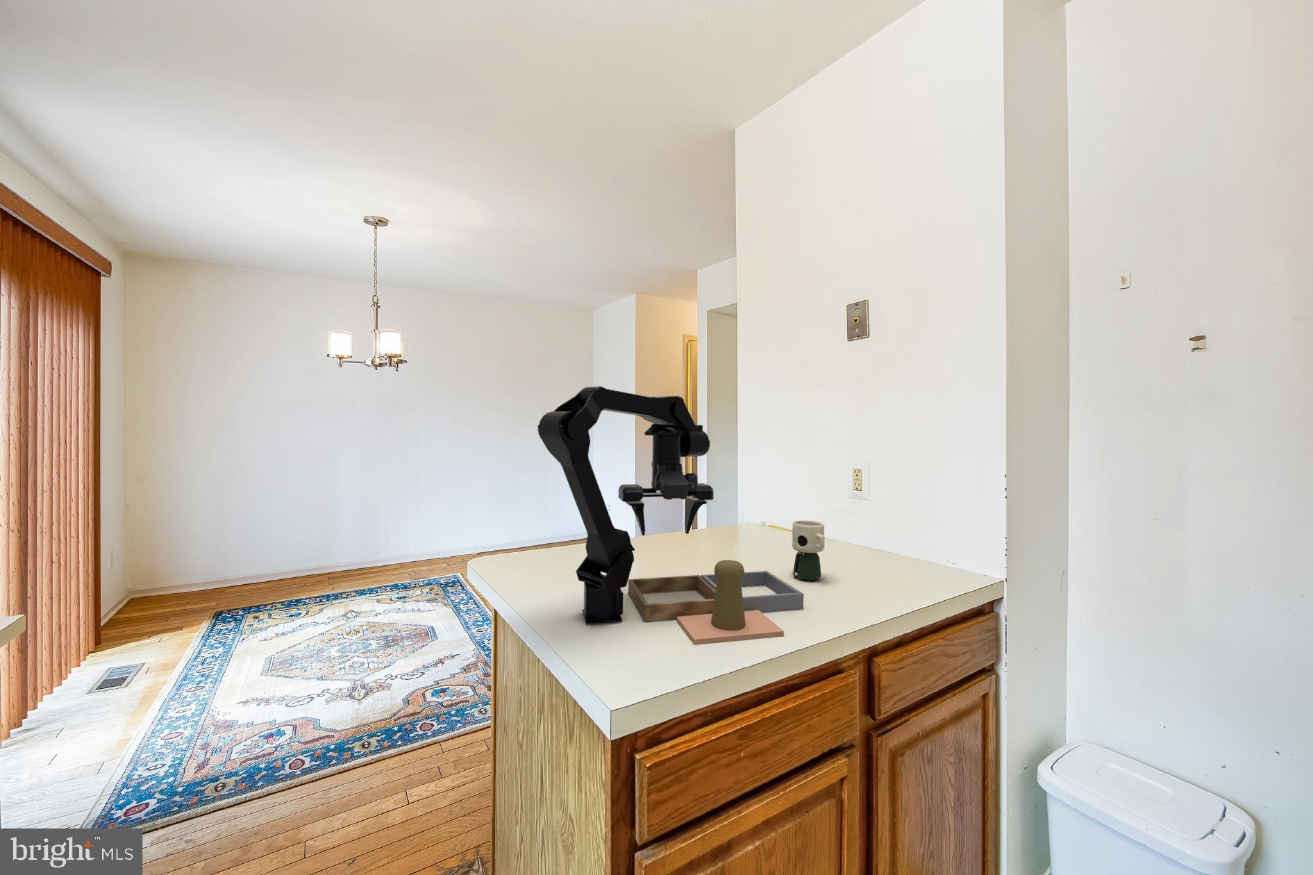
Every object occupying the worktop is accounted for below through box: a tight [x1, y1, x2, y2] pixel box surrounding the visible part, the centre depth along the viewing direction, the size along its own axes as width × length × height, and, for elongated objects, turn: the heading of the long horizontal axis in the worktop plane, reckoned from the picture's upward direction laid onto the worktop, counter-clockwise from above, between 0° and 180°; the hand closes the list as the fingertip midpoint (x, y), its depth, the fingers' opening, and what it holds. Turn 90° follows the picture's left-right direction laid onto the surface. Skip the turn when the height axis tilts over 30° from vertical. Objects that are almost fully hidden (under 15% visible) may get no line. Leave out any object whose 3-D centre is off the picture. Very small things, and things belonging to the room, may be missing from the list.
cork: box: [711, 559, 746, 631], centre depth 90 cm, size 6×6×11 cm
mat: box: [676, 610, 785, 645], centre depth 90 cm, size 16×10×1 cm, turn 104°
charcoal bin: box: [700, 570, 805, 613], centre depth 106 cm, size 16×16×3 cm
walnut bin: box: [627, 574, 716, 623], centre depth 102 cm, size 16×16×3 cm
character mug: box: [791, 519, 826, 581], centre depth 120 cm, size 11×7×13 cm, turn 22°
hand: (665, 534), depth 105 cm, fingers open, 9 cm apart
